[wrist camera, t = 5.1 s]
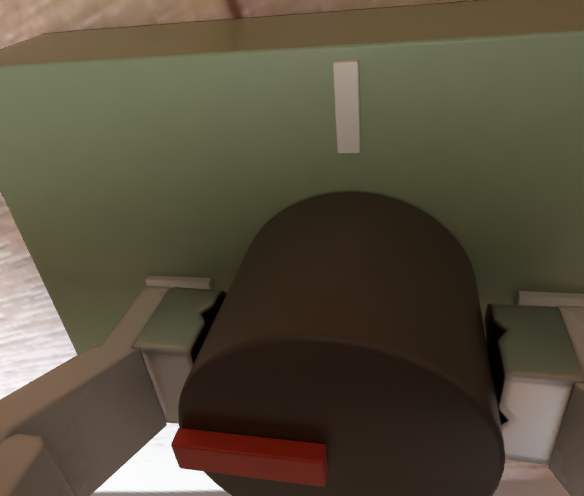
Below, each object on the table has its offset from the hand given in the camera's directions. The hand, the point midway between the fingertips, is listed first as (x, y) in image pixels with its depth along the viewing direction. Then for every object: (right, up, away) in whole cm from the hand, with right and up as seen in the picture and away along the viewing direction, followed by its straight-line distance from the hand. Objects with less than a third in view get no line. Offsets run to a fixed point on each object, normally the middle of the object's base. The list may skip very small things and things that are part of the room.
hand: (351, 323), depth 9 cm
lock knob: (0, +1, +1) cm, 1 cm away
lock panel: (+1, +2, +3) cm, 4 cm away
